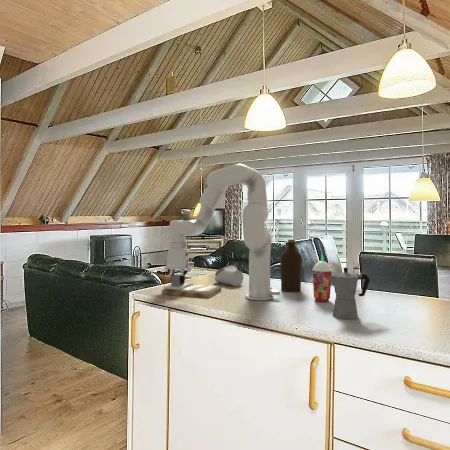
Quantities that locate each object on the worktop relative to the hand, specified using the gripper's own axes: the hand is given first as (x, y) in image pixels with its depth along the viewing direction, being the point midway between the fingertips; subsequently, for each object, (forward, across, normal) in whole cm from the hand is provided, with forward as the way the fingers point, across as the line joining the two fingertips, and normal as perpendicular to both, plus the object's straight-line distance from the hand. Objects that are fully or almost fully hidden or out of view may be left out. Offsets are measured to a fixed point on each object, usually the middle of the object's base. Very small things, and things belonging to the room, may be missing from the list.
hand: (177, 283), depth 181 cm
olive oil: (+4, -52, -21) cm, 56 cm away
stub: (+2, 0, 0) cm, 2 cm away
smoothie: (+4, -68, -3) cm, 68 cm away
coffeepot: (+4, -78, +19) cm, 81 cm away
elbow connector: (+4, -17, -31) cm, 35 cm away
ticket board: (+4, -8, 0) cm, 9 cm away
